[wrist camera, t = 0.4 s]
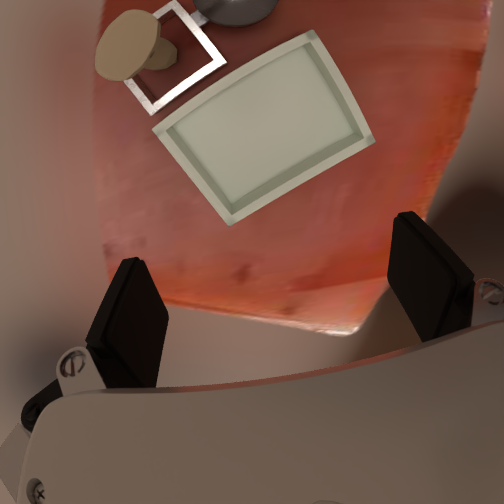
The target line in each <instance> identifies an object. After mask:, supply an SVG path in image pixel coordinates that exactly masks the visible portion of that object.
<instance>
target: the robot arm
mask: <svg viewBox="0 0 504 504" xmlns="http://www.w3.org/2000/svg"><path fill="white" fill-rule="evenodd" d="M387 278H388V282H389V284H390V286H391V287H392V289H393V291H394V293H395V294H396V296H397V298H398V299H399V301H400V303H401V304H402V306H403V308H404V310H405V312H406V313H407V315H408V317H409V319H410V320H411V322H412V324H413V326H414V328H415V329H416V331H417V333H418V335H419V337H420V339H421V341H422V343H420V344H417V345H414V346H411V347H407V348H404V349H401V350H398V351H394V352H390V353H387V354H383V355H380V356H376V357H372V358H368V359H364V360H360V361H356V362H352V363H347V364H343V365H338V366H334V367H329V368H324V369H319V370H314V371H309V372H304V373H298V374H292V375H286V376H280V377H273V378H266V379H259V380H251V381H243V382H234V383H225V384H213V385H200V386H183V387H160V388H156V383H157V377H158V372H159V366H160V361H161V356H162V350H163V344H164V340H165V335H166V330H167V326H168V320H169V316H168V311H167V309H166V307H165V305H164V303H163V301H162V299H161V297H160V295H159V293H158V290H157V288H156V286H155V284H154V282H153V280H152V277H151V275H150V273H149V271H148V268H147V266H146V264H145V262H144V261H143V260H140V259H139V258H138V257H133V258H128V259H123V260H122V262H121V264H120V266H119V268H118V270H117V272H116V274H115V276H114V278H113V280H112V282H111V284H110V286H109V288H108V290H107V292H106V294H105V296H104V299H103V301H102V303H101V305H100V307H99V309H98V312H97V314H96V316H95V318H94V321H93V323H92V325H91V328H90V330H89V332H88V335H87V337H86V340H85V341H86V342H87V343H88V344H87V346H86V348H84V347H75V348H72V349H70V350H68V351H67V352H66V353H64V354H63V356H62V357H61V358H60V359H59V361H58V364H57V368H56V372H57V377H58V378H57V379H56V380H54V381H53V382H52V383H50V384H49V385H48V386H47V387H45V388H44V389H43V390H42V391H40V392H39V393H38V394H36V395H35V396H34V397H32V398H31V399H30V400H29V401H28V402H27V403H26V404H25V406H24V407H23V410H22V413H21V421H22V425H21V424H19V423H18V424H17V425H16V426H15V428H14V429H13V430H12V432H11V433H10V434H9V436H8V437H7V438H6V440H5V441H4V443H3V444H2V445H1V447H0V478H1V479H2V481H3V483H4V485H5V486H6V488H7V489H8V491H9V492H10V494H11V495H12V497H13V499H14V500H15V502H16V503H17V504H504V286H503V285H502V284H501V283H499V282H498V281H496V280H493V279H488V278H485V279H481V280H479V281H478V282H477V283H475V282H474V281H473V278H474V274H473V273H472V271H471V270H470V269H469V268H468V267H467V266H466V265H465V264H464V262H462V260H461V259H460V258H459V257H458V256H457V255H456V254H455V253H454V252H453V250H452V249H451V248H450V247H449V246H448V245H447V244H446V243H445V242H444V241H443V240H442V239H441V238H440V237H439V236H438V235H437V234H436V233H435V232H434V231H433V230H432V229H431V228H430V227H429V226H428V225H427V224H426V223H425V222H424V221H423V220H422V219H421V218H420V217H419V216H418V215H417V214H416V213H415V212H413V211H409V212H402V213H399V214H398V215H397V217H395V218H394V222H393V232H392V242H391V250H390V258H389V266H388V273H387Z"/></svg>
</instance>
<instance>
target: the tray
mask: <svg viewBox="0 0 504 504" xmlns="http://www.w3.org/2000/svg"><path fill="white" fill-rule="evenodd" d="M152 130H153V132H154V133H155V134H156V136H157V137H158V138H159V139H160V141H161V142H162V143H163V144H164V146H165V147H166V148H167V149H168V151H169V152H170V153H171V154H172V156H173V157H174V158H175V160H176V161H177V162H178V163H179V165H180V166H181V167H182V168H183V170H184V171H185V172H186V173H187V175H188V176H189V177H190V178H191V180H192V181H193V182H194V183H195V185H196V186H197V187H198V188H199V190H200V191H201V192H202V194H203V195H204V196H205V197H206V199H207V200H208V201H209V202H210V204H211V205H212V206H213V207H214V209H215V210H216V211H217V212H218V214H219V215H220V216H221V217H222V219H223V220H224V221H225V222H226V224H227V225H228V226H229V227H230V226H231V225H233V224H235V223H236V222H238V221H240V220H241V219H243V218H245V217H246V216H248V215H249V214H251V213H253V212H254V211H256V210H258V209H259V208H261V207H263V206H264V205H266V204H268V203H270V202H271V201H273V200H275V199H276V198H278V197H280V196H281V195H283V194H285V193H286V192H288V191H290V190H292V189H293V188H295V187H297V186H298V185H300V184H302V183H304V182H305V181H307V180H309V179H311V178H312V177H314V176H316V175H318V174H319V173H321V172H323V171H325V170H326V169H328V168H330V167H332V166H333V165H335V164H337V163H339V162H340V161H342V160H344V159H346V158H348V157H349V156H351V155H353V154H355V153H357V152H358V151H360V150H362V149H364V148H366V147H368V146H369V145H371V144H373V143H375V140H374V137H373V135H372V133H371V131H370V129H369V127H368V124H367V122H366V120H365V118H364V116H363V114H362V112H361V110H360V108H359V106H358V104H357V102H356V100H355V98H354V96H353V95H352V93H351V91H350V89H349V87H348V85H347V83H346V82H345V80H344V78H343V76H342V75H341V73H340V71H339V69H338V68H337V66H336V64H335V63H334V61H333V59H332V58H331V56H330V54H329V53H328V51H327V50H326V48H325V46H324V45H323V43H322V42H321V40H320V39H319V37H318V36H317V34H316V33H315V31H314V30H313V29H312V30H310V31H308V32H306V33H304V34H301V35H299V36H297V37H295V38H293V39H291V40H289V41H287V42H285V43H283V44H281V45H279V46H277V47H275V48H273V49H271V50H269V51H268V52H266V53H264V54H262V55H260V56H258V57H257V58H255V59H253V60H251V61H250V62H248V63H246V64H244V65H243V66H241V67H239V68H238V69H236V70H234V71H233V72H231V73H230V74H228V75H226V76H225V77H223V78H222V79H220V80H219V81H217V82H215V83H214V84H212V85H211V86H209V87H208V88H206V89H205V90H203V91H202V92H201V93H199V94H198V95H196V96H195V97H193V98H192V99H191V100H189V101H188V102H186V103H185V104H184V105H182V106H181V107H180V108H178V109H177V110H176V111H174V112H173V113H172V114H170V115H169V116H168V117H166V118H165V119H164V120H163V121H161V122H160V123H159V124H158V125H156V126H155V127H154V128H153V129H152Z"/></svg>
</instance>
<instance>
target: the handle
mask: <svg viewBox="0 0 504 504" xmlns="http://www.w3.org/2000/svg"><path fill="white" fill-rule="evenodd" d="M160 32H161V24H160V22H159V21H158V19H157V18H156V17H154V16H153V15H152V14H150V13H148V12H146V11H142V10H129V11H125V12H124V13H123V14H121V15H120V16H119V17H118V18H117V19H115V20H114V21H113V22H112V23H111V24H110V25H109V26H108V27H107V29H106V30H105V32H104V34H103V36H102V38H101V40H100V41H99V44H98V46H97V50H96V57H95V69H96V71H97V72H98V73H99V74H100V75H101V76H102V77H104V78H106V79H109V80H112V81H124V80H129V79H131V78H132V77H134V76H135V75H136V74H137V73H138V72H140V71H141V70H142V69H143V68H146V69H149V70H162V69H167V68H168V67H170V66H171V65H172V64H175V63H176V62H177V61H178V59H177V49H176V48H175V46H174V45H173V44H172V43H171V42H170V41H168V40H167V39H165V38H162V37H160Z"/></svg>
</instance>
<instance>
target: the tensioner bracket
mask: <svg viewBox="0 0 504 504" xmlns="http://www.w3.org/2000/svg"><path fill="white" fill-rule="evenodd" d="M193 2H194V4H195V6H196V8H197V11H196V12H194V13H192V14H191V15H188V13H187V12H186V11H185V10H184V9H183V8H182V6H181V5H180V4H179V3H178V2H177V1H176V0H172V1H171V2H169V3H168V4H166V5H165V6H164V7H162V8H161V9H159V10H158V11H156V12H155V13H154V14H152V15H153V16H154V17H156V18H157V19H158V21H159V22H160V24H161V25H162V24H163V23H164V22H166V21H167V20H169V19H170V18H172V17H173V16H175V15H176V14H177V15H178V16H179V17H180V18H181V19H182V21H183V22H184V23H185V24H186V25H187V27H188V28H189V29H190V30H191V31H192V33H193V34H194V35H195V36H196V38H197V39H198V40H199V41H200V43H201V44H202V45H203V46H204V48H205V49H206V50H207V51H208V53H209V54H210V55H211V57H212V58H213V59H214V61H212V62H211V63H209V64H208V65H206V66H205V67H203V68H202V69H200V70H199V71H197V72H196V73H194V74H193V75H191V76H190V77H189V78H187V79H186V80H184V81H183V82H182V83H180V84H179V85H177V86H176V87H175V88H173V89H172V90H171V91H169V92H168V93H167V94H165V95H164V96H163V97H162V98H160V99H159V100H158V101H157V100H156V99H155V98H154V96H153V95H152V94H151V92H150V91H149V90H148V89H147V87H146V86H145V85H144V84H143V82H142V81H141V80H140V79H139V77H138V76H137V75H135V76H134V77H132V78H131V79H129V80H124V82H125V84H126V85H127V86H128V87H129V89H130V90H131V91H132V93H133V94H134V95H135V96H136V98H137V99H138V100H139V101H140V103H141V104H142V105H143V106H144V108H145V109H146V110H147V112H148V113H149V114H150V115H151V116H152V115H154V114H156V113H158V112H159V111H161V110H162V109H163V108H164V107H166V106H167V105H168V104H170V103H171V102H172V101H173V100H175V99H176V98H178V97H179V96H180V95H182V94H183V93H184V92H186V91H187V90H188V89H190V88H191V87H193V86H194V85H196V84H197V83H198V82H200V81H201V80H203V79H204V78H206V77H207V76H209V75H210V74H212V73H213V72H215V71H217V70H218V69H220V68H221V67H223V66H224V65H226V64H227V62H226V61H225V59H224V58H223V57H222V56H221V54H220V53H219V52H218V50H217V49H216V48H215V46H214V45H213V44H212V43H211V41H210V40H209V39H208V38H207V36H206V35H205V34H204V33H203V31H202V30H201V29H200V28H201V27H203V26H205V25H206V24H208V23H210V22H212V23H214V24H217V25H220V26H224V27H232V28H237V27H245V26H250V25H253V24H255V23H258V22H260V21H261V20H263V19H265V18H266V17H267V16H268V15H269V14H270V13H271V12H272V11H273V10H274V8H275V6H276V4H277V2H278V0H193Z"/></svg>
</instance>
